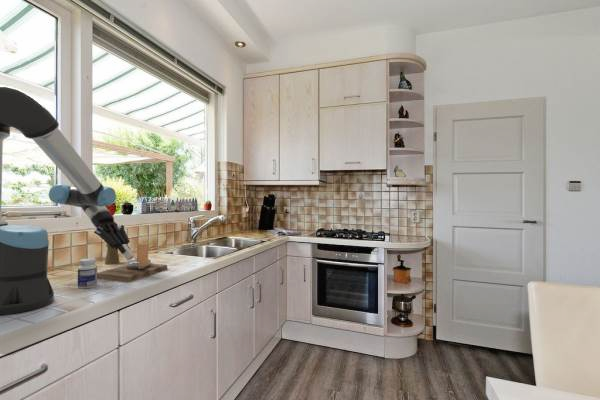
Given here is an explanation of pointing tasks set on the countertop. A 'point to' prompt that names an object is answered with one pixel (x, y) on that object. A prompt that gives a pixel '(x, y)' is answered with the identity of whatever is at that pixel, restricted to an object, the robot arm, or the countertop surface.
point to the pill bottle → (87, 273)
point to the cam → (140, 258)
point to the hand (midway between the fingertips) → (130, 258)
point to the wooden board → (129, 273)
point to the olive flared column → (111, 256)
